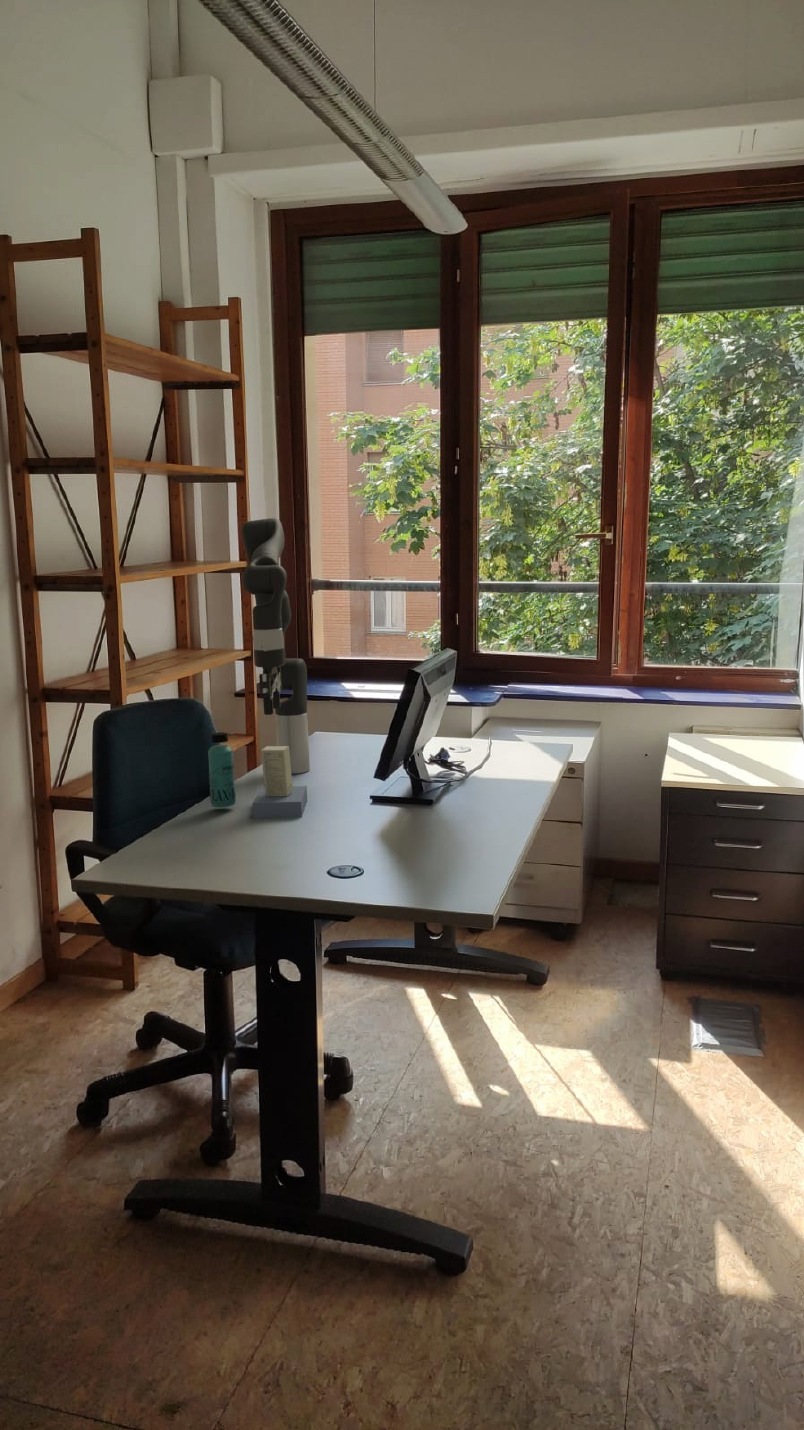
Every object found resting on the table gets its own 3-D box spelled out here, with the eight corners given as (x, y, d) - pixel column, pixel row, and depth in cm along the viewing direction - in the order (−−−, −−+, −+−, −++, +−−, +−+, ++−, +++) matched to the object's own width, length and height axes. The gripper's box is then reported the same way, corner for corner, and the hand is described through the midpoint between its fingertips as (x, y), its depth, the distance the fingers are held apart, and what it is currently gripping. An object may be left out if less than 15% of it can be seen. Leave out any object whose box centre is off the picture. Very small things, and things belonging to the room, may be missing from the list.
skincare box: (293, 792, 269) (290, 745, 266) (287, 797, 265) (284, 749, 262) (269, 791, 270) (266, 745, 268) (263, 796, 266) (260, 749, 264)
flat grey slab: (261, 804, 276) (260, 787, 275) (307, 802, 276) (306, 786, 275) (253, 820, 260) (252, 803, 260) (302, 819, 260) (301, 801, 260)
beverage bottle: (205, 811, 268) (200, 734, 264) (221, 805, 274) (216, 729, 270) (226, 814, 265) (221, 736, 261) (242, 807, 271) (237, 731, 267)
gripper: (260, 643, 268) (263, 706, 271) (247, 650, 254) (251, 716, 257) (289, 643, 267) (292, 706, 270) (277, 650, 253) (281, 716, 256)
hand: (272, 711), depth 263 cm, fingers open, 8 cm apart
